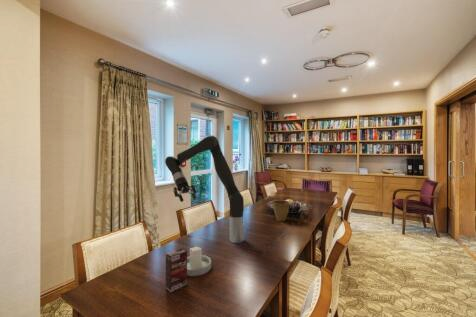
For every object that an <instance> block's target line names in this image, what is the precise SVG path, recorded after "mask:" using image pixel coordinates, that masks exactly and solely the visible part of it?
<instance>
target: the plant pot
mask: <svg viewBox="0 0 476 317" xmlns="http://www.w3.org/2000/svg"><path fill="white" fill-rule="evenodd" d="M290 205H291V204H290V201H288V200H283V199H282V200H281V199H280V200H279V199H278V200H273V201H272V208H273V211H274V216H275V218H276V220H277V221H278V222H285V221H286V220H287V216H288V214H289V210H290Z"/></svg>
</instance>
